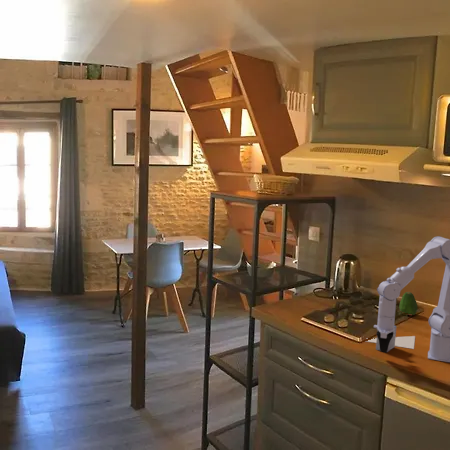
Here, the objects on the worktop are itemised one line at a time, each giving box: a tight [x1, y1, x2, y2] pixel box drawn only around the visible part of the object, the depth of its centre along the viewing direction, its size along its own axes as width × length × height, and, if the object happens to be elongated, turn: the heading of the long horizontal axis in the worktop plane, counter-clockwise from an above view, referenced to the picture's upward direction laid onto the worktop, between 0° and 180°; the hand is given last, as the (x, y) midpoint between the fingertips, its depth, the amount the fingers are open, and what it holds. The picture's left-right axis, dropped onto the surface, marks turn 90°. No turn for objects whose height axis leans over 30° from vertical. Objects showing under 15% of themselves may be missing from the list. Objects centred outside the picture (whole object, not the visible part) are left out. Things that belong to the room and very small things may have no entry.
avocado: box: [398, 291, 418, 316], centre depth 235 cm, size 8×8×12 cm
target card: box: [366, 335, 416, 350], centre depth 205 cm, size 20×20×1 cm
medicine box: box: [375, 325, 397, 353], centre depth 190 cm, size 8×4×9 cm, turn 141°
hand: (383, 351), depth 182 cm, fingers closed
